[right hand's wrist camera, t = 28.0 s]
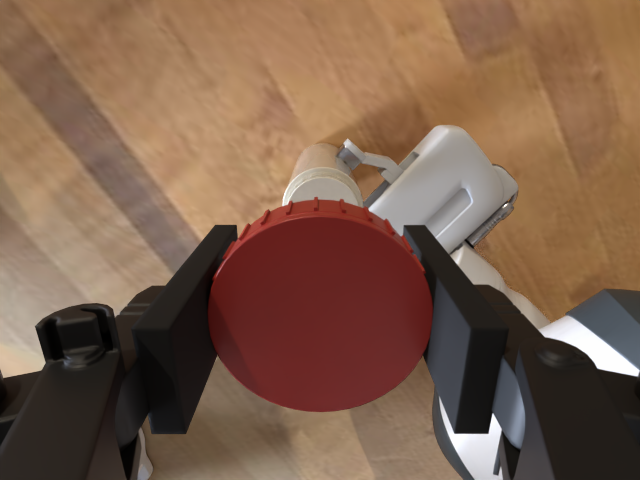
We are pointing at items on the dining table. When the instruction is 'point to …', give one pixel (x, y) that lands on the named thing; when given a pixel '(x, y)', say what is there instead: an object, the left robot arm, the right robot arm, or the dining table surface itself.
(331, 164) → the jar
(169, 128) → the dining table surface
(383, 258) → the lid
